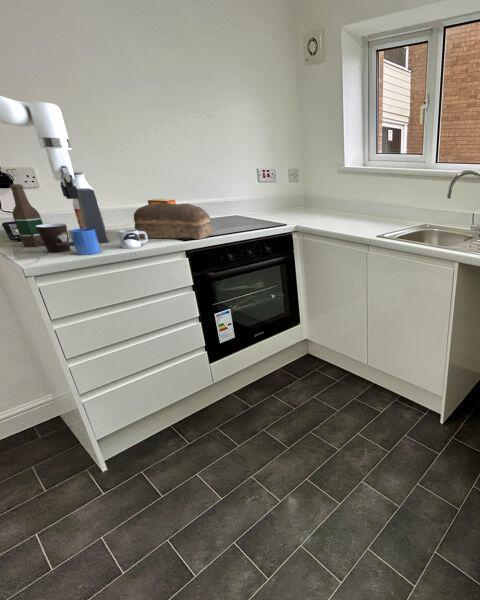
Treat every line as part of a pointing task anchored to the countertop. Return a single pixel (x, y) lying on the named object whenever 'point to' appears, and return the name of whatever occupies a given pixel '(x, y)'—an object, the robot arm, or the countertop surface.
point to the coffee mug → (53, 237)
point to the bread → (172, 221)
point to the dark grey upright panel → (91, 214)
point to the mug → (131, 238)
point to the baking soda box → (161, 201)
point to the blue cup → (85, 241)
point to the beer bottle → (25, 217)
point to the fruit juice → (79, 183)
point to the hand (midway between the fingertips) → (71, 197)
